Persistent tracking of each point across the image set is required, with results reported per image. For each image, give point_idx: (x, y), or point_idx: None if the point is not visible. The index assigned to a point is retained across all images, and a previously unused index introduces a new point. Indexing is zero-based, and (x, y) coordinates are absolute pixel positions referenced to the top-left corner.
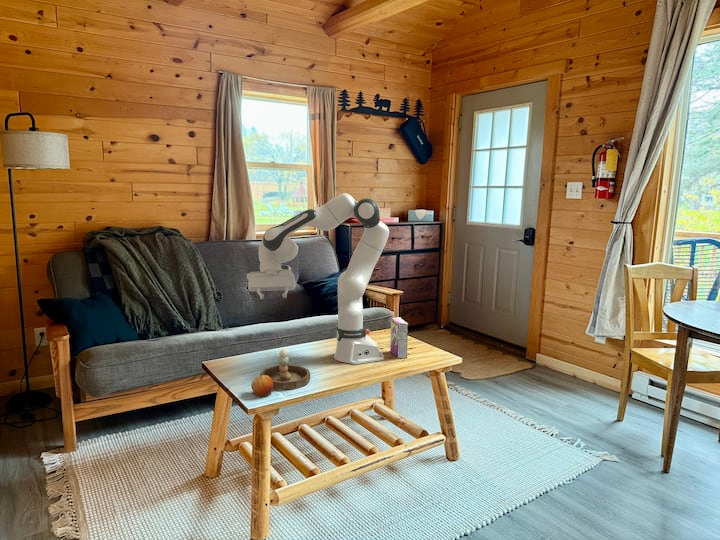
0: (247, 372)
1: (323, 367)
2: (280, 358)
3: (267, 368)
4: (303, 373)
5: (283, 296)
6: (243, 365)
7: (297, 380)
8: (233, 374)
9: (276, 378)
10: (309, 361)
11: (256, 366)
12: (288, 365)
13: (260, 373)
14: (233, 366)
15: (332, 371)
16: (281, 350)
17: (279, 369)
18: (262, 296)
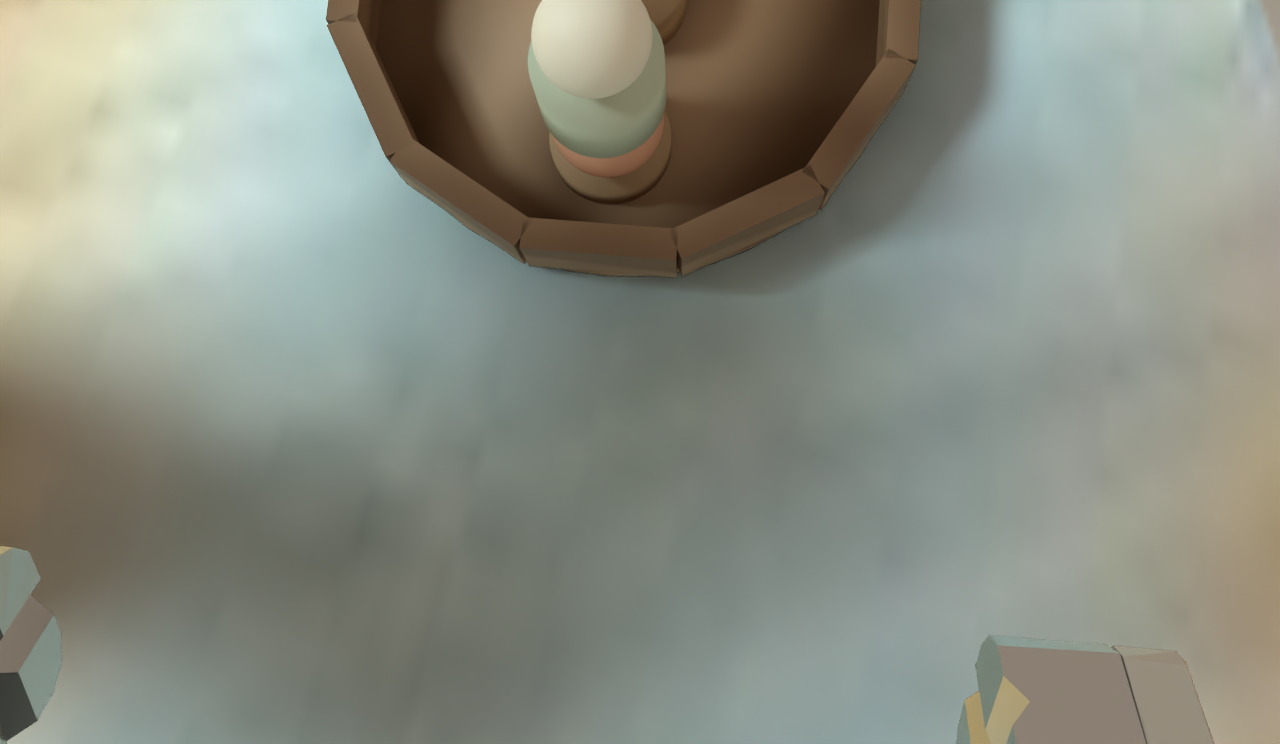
0: (1013, 402)
1: (82, 276)
2: (651, 22)
3: (801, 194)
4: (388, 76)
5: (8, 550)
6: None
7: None
8: (1189, 388)
9: (721, 51)
10: (168, 546)
11: (872, 583)
12: (520, 218)
13: (916, 51)
14: None
15: (34, 116)
16: (621, 14)
17: (663, 115)
18: (1080, 648)
